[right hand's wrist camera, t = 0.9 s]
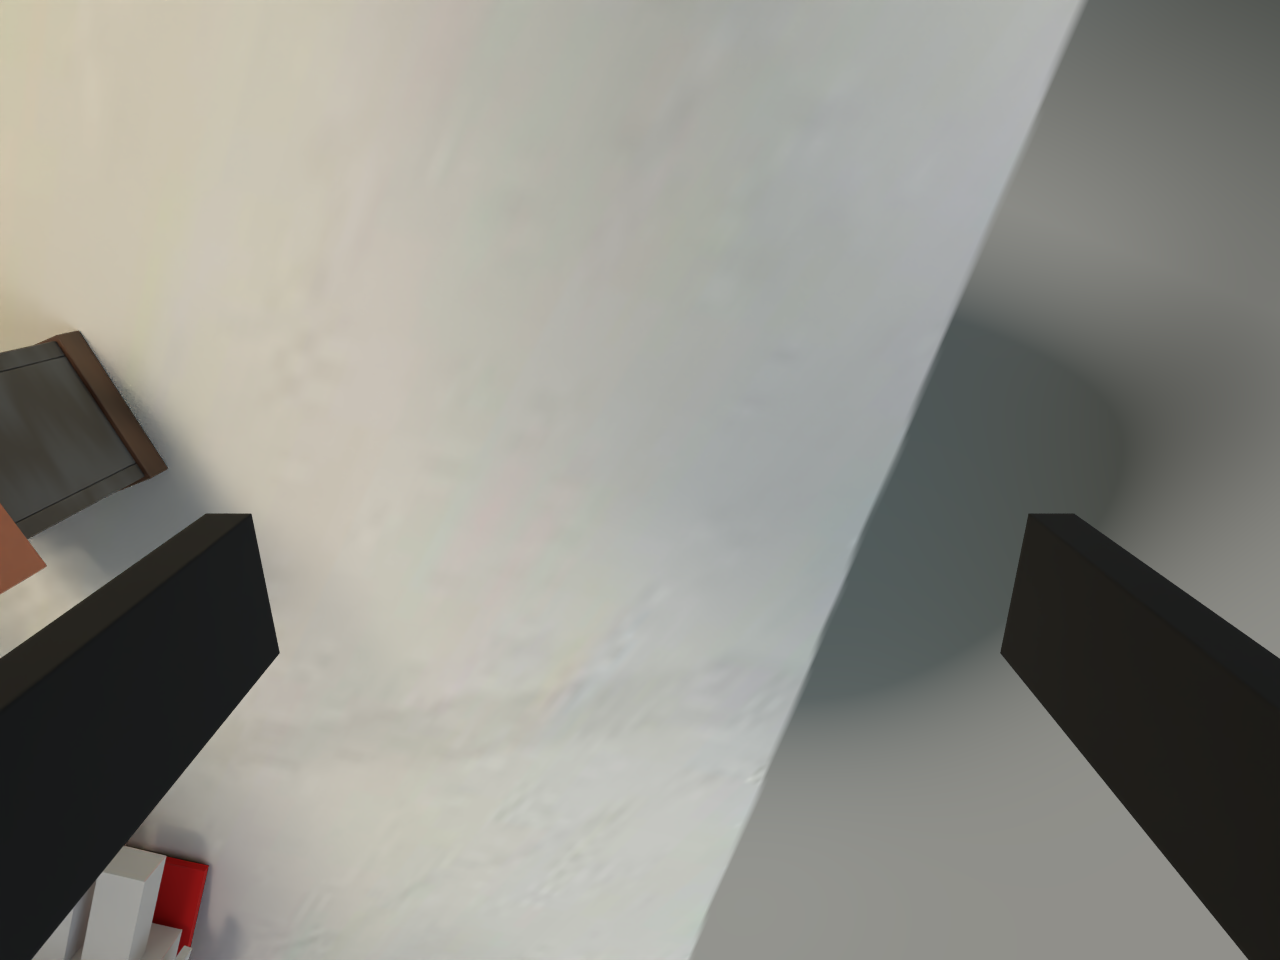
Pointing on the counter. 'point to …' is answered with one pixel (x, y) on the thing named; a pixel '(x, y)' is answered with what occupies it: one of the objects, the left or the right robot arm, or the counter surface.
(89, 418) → the brown wooden desk organizer
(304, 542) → the counter surface
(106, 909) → the toy
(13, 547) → the glossy orange tile
